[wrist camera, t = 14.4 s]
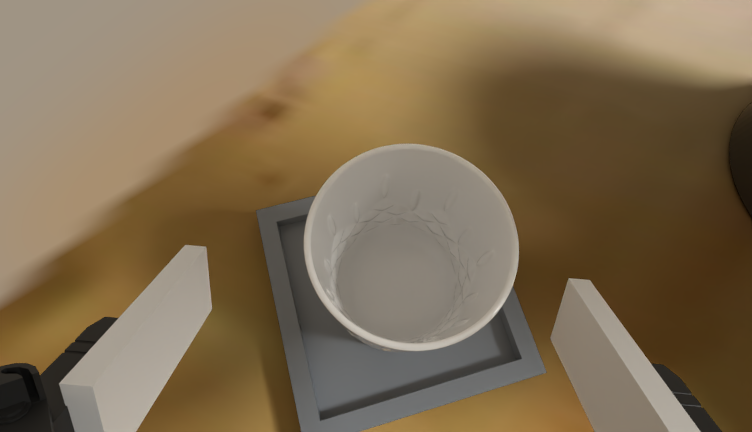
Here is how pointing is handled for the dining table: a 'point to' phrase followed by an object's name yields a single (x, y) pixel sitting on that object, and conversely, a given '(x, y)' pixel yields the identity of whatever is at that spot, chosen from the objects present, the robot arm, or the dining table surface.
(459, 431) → the dining table surface
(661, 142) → the dining table surface
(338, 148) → the dining table surface
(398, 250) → the white cup
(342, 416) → the charcoal tray
